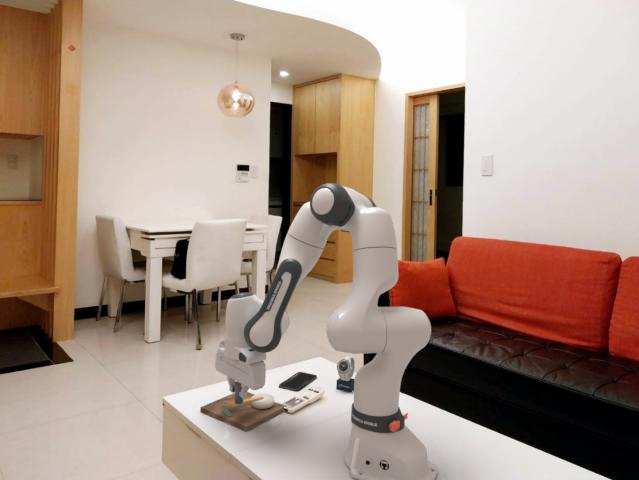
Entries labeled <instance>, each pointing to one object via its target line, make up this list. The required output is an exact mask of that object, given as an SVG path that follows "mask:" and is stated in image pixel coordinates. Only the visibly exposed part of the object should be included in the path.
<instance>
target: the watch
mask: <svg viewBox="0 0 639 480" xmlns="http://www.w3.org/2000/svg"><path fill="white" fill-rule="evenodd" d="M355 367H356V364H355V358H354V357H352V356H347V355H345V356H344V357H342V358H341V359H340V360H338V362H337V364H336V370H337V375H338V376H339V378H338V379H336V388H335V390H339V391H342V392H347V393H353V392H354V379H355V378H352V377H353V376H354V372H355ZM352 391H353V392H352Z"/></svg>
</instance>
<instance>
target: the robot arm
mask: <svg viewBox="0 0 639 480" xmlns="http://www.w3.org/2000/svg"><path fill="white" fill-rule="evenodd" d="M337 230H340V232H343V233H350V235H351V239H352V240H351V241H352V265H353V266H352V284H351V287H350V290H349V293H348V295H347V297H346V298H345V300H344V302H343V303H342V304H341V305H340V306H339V307H338V308H337V309H335V311H333V312H332V314H331V315H330V317H329V318H328V320H327V323H326V329H325V331H326V332H325V333H326V337H327V338H326V339H327V340H328V342H329V344H330V346H331V348H333V349H334V350H335V351H337V352H341V353H346V354H353V355H354V354H355V355H357V354H359V355H360V354H376V355H375V356H374V357H373V359H372V360H371V361H369V362H368V363H366V364H365V365H364V364H363V365H362V366H361V367H360V368H359V369H358V370H357V372H356V374H355V377H354V378H353V379H354V391H353V402H352V404H351V412H350V413H351V414H350V421H351V431H350V436H349V437H350V438H349V442H348V446H347V449H346V450H347V451H346V453H345V456H344V462H345V464H346V466H347V467H348V469H349V475H350V477H351V478H353V479H355V480H436V478H437V477H438V469H437V466H436V464H434V463H433V462H431V461H429V457H428V453H427V452H428V451H427V448H426V446H425V444H424V443H423V442H422V440H420V439H419V438H418V437H417V435H415V433H414V432H413V431H411V430H410V428H409V427H408V426H407V425H406V424H405V421H406V420H407V419H408V418H409V416H408V415H409V412H407V413H405V414H403V413H402V411H401V409H400V406H399V405H400V392H401V385H402V384H401V383H402V378H403V375H404V373H405V370H406V369H407V366H408V365H409V363H410V361H411V360H413V357H414V356H416V354H417V353H418V352H419V351H421V350H422V349H424V348H425V347H426V346H427V344H428V343H429V341H430V339H431V335H432V325H431V321H430V319H429V317H428V316H427V314H426V312H424V310H422V309H419V308H414V307H410V306H409V307H408V306H378V303H379V298H380V296H381V295H382V294H384V293H386V292H388V291H389V290H391V289H392V288H394V287H395V286H396V284H397V283H398V280H399V277H400V276H399V260H398V259H399V258H398V245H397V237H396V231H395V227H394V223H393V218H392V216H391V213H390V212H388V211H387V209H384V208H382V207H377V204H376V203H375V202H374V200H372V199H371V198H370V197H369V196H367V195H364V194H362V193H360V192H359V191H357V190H355V189H353V188H350V187H348V186H343V185H341V184H339V183H332V182H327V183H323V184H320V185H318V186H317V187H316V188H315V189H314V191H313V192H312V194H311V196H310V199H309V201H307V202H305V203H304V204H302V205H301V207H300V209H299V211H298V212H297V213H296V215H295V217H294V218H293V220H292V221H291V224H290V225H289V228H288V230H287V233H286V236H285V238H284V240H283V245H282V247H281V252H280V255H279V258H278V259H279V260H278V263H277V267H276V271H275V274H274V276H273V279H272V282H271V285H270V286H269V289H268V291H267V293H266V296H265V297H264V299H262V298H260V297H258V296H257V295H256V294H255V293H254V292H239V293H236V294H234V295H232V296H230V298H228V301H227V303H226V309H225V319H224V321H225V323H224V324H225V329H226V330H225V335H224V340H222V341H220V343H219V344H218V348H217V350H216V355H215V361H214V362H215V364H214V367H215V370H216V371H217V372H218V373H220V374H222V375H224V376H225V377H227V378H226V379H227V382H228V386H229V392H230V393H231V394H233V393H235V382H236V381H237V382H239V383H241V387H243V388H242V390H241V391H239V396H240V397H241V398H246V397H247V392H249V390H252V391H258V390H260V389H263V388H264V386H265V384H266V377H267V376H266V371H267V369H266V362H264V361H265V360H267V353H270V352H272V351H274V350H275V349H276V348H277V347H278V346H279V345H280V342H281V340H282V338H283V336H284V335H285V333H286V332H287V331H288V329H289V326H290V316H289V315H288V312H287V311H286V310H287V308H288V306H289V304H290V302H291V299H292V296H293V294H294V292H295V290H296V289H297V287H298V286H299V285H300V283H301V282H302V281H303V280H304V279H305V278H306V276H308V274H309V273H310V272H311V271H312V270H313V268H314V267H315V266H316V264H317V262H318V261H319V260H320V258H321V256H322V253H323V252H324V250H325V248H326V244H327V241H328V239H329V237H330V236H331V234H332V233H333V232H334V231H337Z"/></svg>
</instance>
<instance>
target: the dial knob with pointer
mask: <svg viewBox="0 0 639 480" xmlns="http://www.w3.org/2000/svg"><path fill="white" fill-rule="evenodd" d="M242 388H243V387H241V383H239V382H237V381H235V392H234V393H235V402H233V403H232V406H237V405H241V404H245V403H249V402H251V406H252V407H254V408H257V409H267V408H270V407H272V406H273V405H274V402H275V397H274V395H272V394H269V393H265V392H264V393H256V394H255V395H254V396H252V397H251V398H250V399H246V400H243V398H241V397H240V396H239V391H241V390H242Z"/></svg>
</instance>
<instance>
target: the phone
mask: <svg viewBox="0 0 639 480" xmlns="http://www.w3.org/2000/svg"><path fill="white" fill-rule="evenodd" d="M317 378H318V375H316V374H314V373H309V372H303V371H298V372H296V373H295V374H293V375H292V376H289V378H286V379H285V380H284V381H282V382H281V383H279V386H278V388H280V389H283V390H288V391H291V392H296V393H297V392H300V391H302V390H303V389H304V388H305V387H307V386H309V385H310V384H311V383H313V382H314V381H316V380H317Z"/></svg>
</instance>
